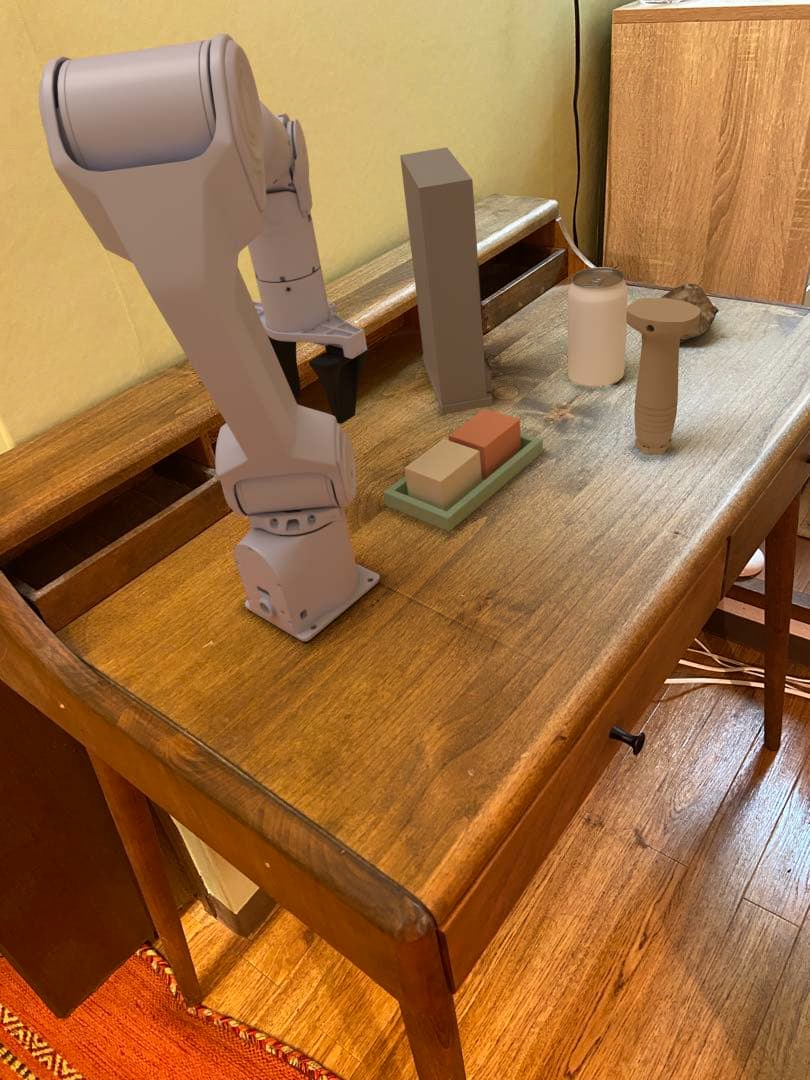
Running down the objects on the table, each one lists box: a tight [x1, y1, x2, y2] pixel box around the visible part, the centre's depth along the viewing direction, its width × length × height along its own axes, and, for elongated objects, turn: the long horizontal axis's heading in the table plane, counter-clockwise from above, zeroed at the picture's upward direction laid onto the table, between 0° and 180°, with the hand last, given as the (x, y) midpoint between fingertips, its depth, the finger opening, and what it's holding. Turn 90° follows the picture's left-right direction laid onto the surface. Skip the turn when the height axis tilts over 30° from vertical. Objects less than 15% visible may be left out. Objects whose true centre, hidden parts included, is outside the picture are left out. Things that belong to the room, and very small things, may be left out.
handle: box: [626, 297, 701, 456], centre depth 78 cm, size 5×6×15 cm
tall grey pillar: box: [399, 147, 494, 415], centre depth 91 cm, size 14×6×25 cm, turn 8°
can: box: [567, 266, 629, 387], centre depth 93 cm, size 6×6×12 cm
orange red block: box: [448, 408, 521, 480], centre depth 83 cm, size 6×4×4 cm
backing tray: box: [382, 431, 544, 532], centre depth 82 cm, size 16×8×2 cm, turn 139°
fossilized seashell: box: [660, 283, 720, 343], centre depth 101 cm, size 8×7×10 cm
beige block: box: [404, 438, 482, 511], centre depth 80 cm, size 6×4×4 cm
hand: (317, 408), depth 79 cm, fingers open, 7 cm apart
